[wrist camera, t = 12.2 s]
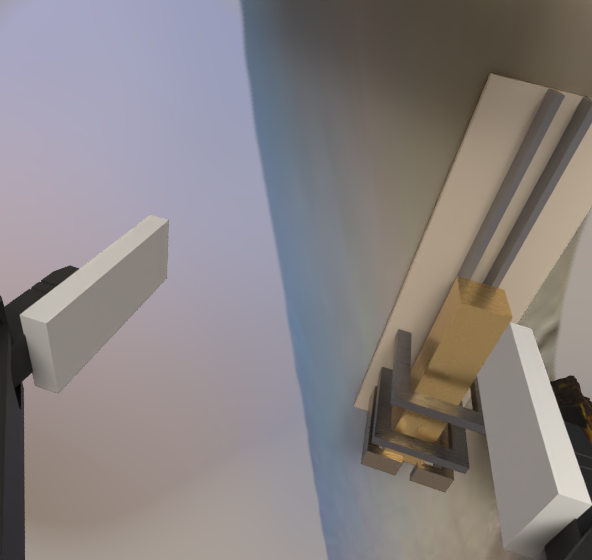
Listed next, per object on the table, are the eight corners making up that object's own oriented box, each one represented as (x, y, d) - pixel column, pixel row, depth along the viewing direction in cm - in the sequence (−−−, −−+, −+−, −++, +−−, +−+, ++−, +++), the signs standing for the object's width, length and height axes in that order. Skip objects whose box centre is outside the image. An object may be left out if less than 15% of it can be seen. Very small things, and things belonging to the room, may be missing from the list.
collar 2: (382, 362, 52) (374, 436, 43) (460, 386, 51) (469, 468, 42) (379, 367, 53) (371, 442, 44) (457, 392, 52) (465, 473, 43)
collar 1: (398, 324, 49) (393, 396, 40) (482, 350, 48) (497, 430, 39) (395, 331, 49) (390, 403, 40) (478, 356, 48) (492, 437, 39)
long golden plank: (456, 275, 41) (460, 302, 37) (504, 289, 40) (513, 318, 36) (384, 423, 53) (381, 454, 49) (420, 434, 52) (420, 467, 49)
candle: (572, 372, 47) (605, 450, 38) (612, 431, 50) (650, 516, 41) (482, 401, 52) (493, 475, 44) (522, 454, 55) (540, 533, 46)
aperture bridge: (375, 380, 54) (367, 450, 45) (448, 404, 53) (453, 480, 45) (370, 393, 55) (360, 463, 47) (441, 416, 54) (445, 492, 46)
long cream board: (490, 72, 34) (495, 78, 32) (646, 111, 33) (665, 120, 31) (354, 402, 57) (351, 421, 54) (445, 431, 56) (446, 452, 53)
